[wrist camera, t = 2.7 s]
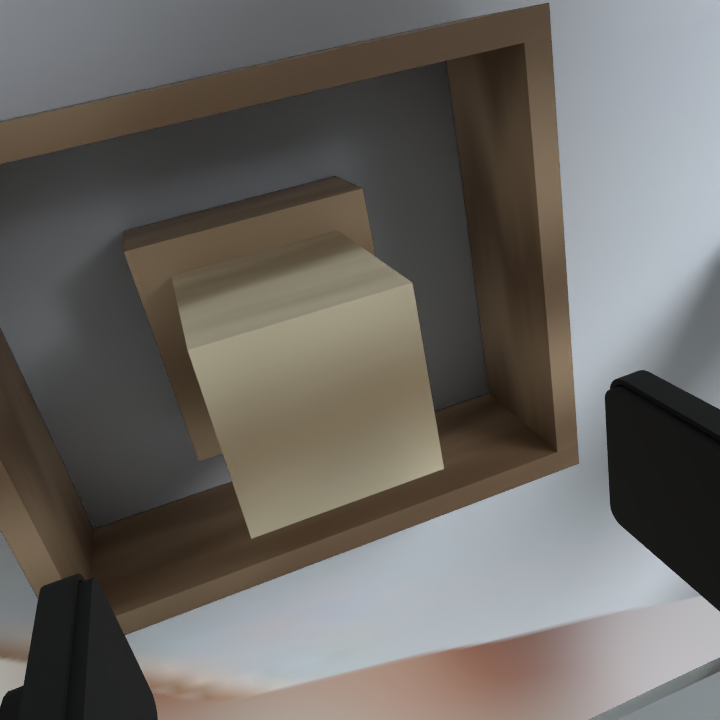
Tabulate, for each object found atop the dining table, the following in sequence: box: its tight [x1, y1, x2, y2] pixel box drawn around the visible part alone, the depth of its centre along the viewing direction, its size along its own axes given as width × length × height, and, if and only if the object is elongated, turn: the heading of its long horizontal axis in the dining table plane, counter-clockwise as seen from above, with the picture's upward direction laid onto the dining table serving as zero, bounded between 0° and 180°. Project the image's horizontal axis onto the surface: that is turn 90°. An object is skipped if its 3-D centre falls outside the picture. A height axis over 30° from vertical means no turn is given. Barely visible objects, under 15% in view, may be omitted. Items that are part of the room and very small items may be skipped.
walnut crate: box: [0, 3, 579, 635], centre depth 21 cm, size 15×18×5 cm
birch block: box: [171, 230, 444, 539], centre depth 18 cm, size 5×5×6 cm
